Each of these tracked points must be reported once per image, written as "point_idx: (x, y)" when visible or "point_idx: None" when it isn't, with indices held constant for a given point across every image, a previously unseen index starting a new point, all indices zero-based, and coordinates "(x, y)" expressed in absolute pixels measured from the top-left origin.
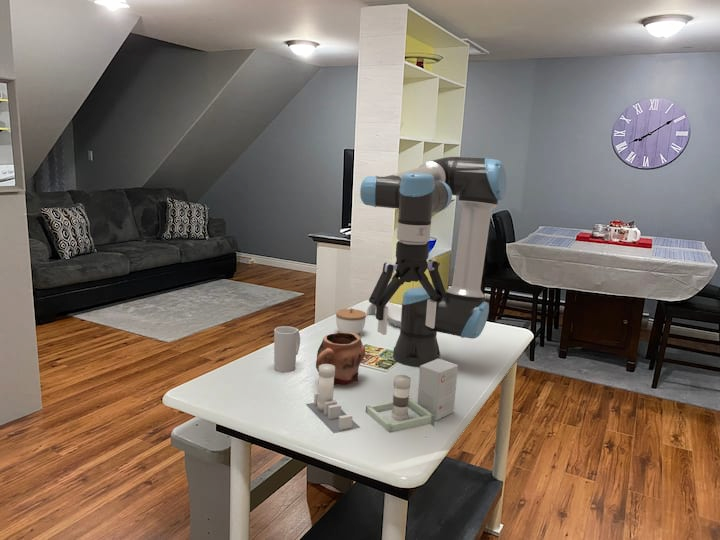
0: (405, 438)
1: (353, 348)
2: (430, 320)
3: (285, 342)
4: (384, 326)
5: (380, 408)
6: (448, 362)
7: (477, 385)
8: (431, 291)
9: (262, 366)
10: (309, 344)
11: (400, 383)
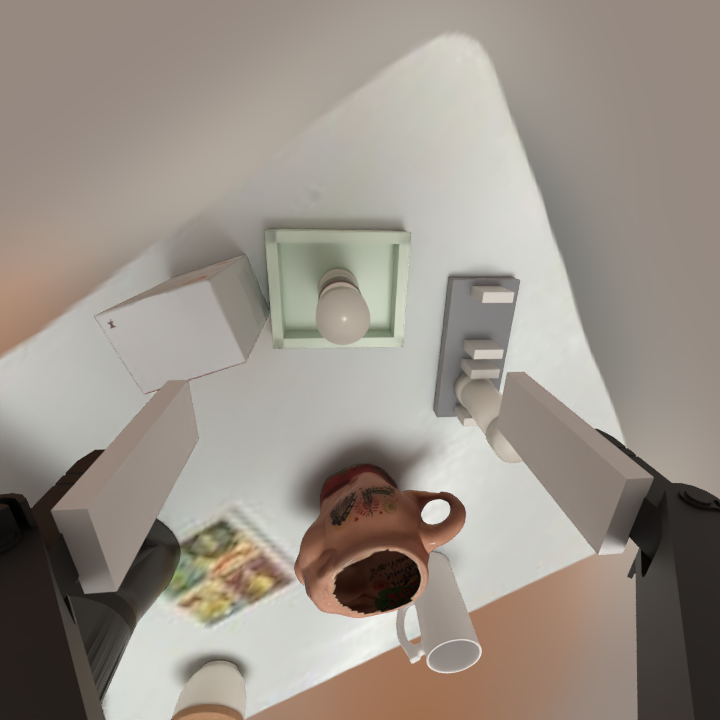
0: (367, 210)
1: (365, 536)
2: (174, 423)
3: (459, 616)
4: (548, 395)
5: (366, 335)
6: (121, 349)
7: (17, 385)
8: (45, 650)
9: (461, 579)
10: (328, 641)
11: (362, 298)
